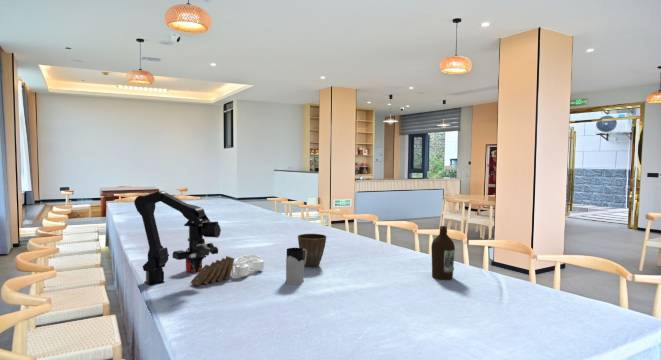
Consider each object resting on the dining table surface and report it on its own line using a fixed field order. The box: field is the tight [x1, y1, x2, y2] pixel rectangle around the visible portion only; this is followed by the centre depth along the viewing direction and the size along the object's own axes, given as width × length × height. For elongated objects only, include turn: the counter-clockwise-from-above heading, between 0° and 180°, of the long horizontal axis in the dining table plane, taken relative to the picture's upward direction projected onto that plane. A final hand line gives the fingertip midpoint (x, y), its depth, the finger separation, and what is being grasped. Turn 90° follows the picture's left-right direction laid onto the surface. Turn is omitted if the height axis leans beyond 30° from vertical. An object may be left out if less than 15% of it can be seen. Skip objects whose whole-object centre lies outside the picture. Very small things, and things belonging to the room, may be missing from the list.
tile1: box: [190, 264, 214, 288], centre depth 179 cm, size 2×5×10 cm
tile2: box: [201, 261, 220, 285], centre depth 181 cm, size 2×5×10 cm
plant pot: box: [297, 233, 327, 269], centre depth 212 cm, size 15×15×16 cm
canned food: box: [185, 247, 203, 274], centre depth 201 cm, size 8×8×11 cm
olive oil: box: [430, 225, 456, 281], centre depth 191 cm, size 11×11×25 cm
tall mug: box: [284, 247, 307, 285], centre depth 186 cm, size 9×14×15 cm, turn 152°
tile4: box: [216, 257, 230, 283], centre depth 186 cm, size 2×5×10 cm, turn 42°
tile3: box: [209, 259, 225, 284], centre depth 184 cm, size 2×5×10 cm
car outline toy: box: [230, 254, 264, 279], centre depth 197 cm, size 20×11×7 cm, turn 150°
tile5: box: [222, 255, 235, 281], centre depth 188 cm, size 2×5×10 cm, turn 41°
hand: (196, 272), depth 177 cm, fingers closed
